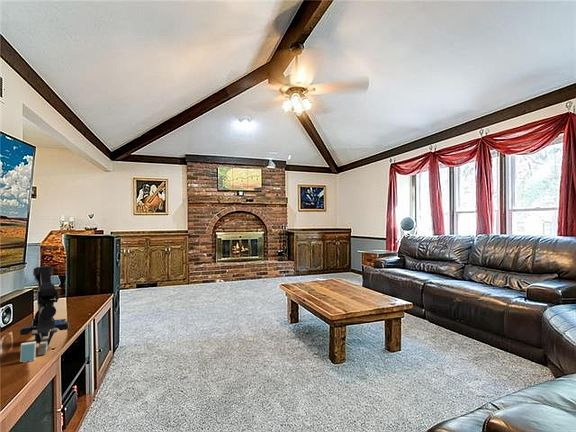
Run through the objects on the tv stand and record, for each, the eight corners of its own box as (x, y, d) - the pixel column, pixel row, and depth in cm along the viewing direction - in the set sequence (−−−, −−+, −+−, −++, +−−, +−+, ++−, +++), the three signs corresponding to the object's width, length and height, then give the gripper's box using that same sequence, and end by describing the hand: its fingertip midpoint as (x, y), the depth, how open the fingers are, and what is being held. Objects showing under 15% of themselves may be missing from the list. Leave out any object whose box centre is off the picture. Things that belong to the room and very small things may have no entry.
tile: (21, 361, 143) (21, 343, 143) (35, 359, 146) (36, 341, 146) (20, 363, 141) (20, 344, 141) (34, 360, 144) (35, 342, 144)
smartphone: (46, 327, 188) (53, 319, 202) (46, 328, 188) (53, 321, 202) (61, 325, 191) (67, 318, 205) (61, 327, 191) (67, 320, 205)
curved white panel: (42, 344, 161) (43, 336, 161) (49, 343, 162) (49, 335, 162) (38, 354, 149) (38, 345, 149) (45, 353, 150) (45, 344, 150)
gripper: (18, 320, 146) (16, 355, 145) (67, 315, 155) (66, 347, 155) (23, 314, 155) (21, 346, 155) (69, 309, 165) (68, 340, 164)
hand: (44, 345), depth 157 cm, fingers closed on curved white panel, 3 cm apart
